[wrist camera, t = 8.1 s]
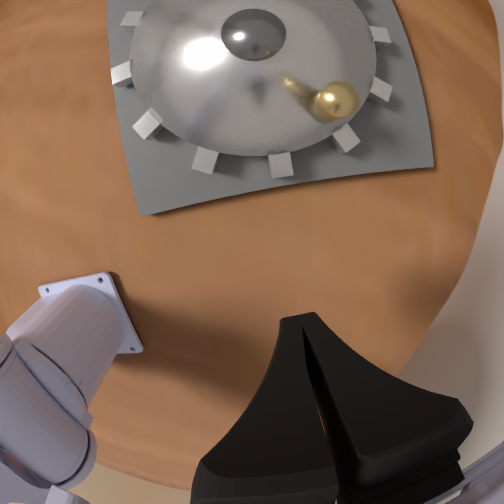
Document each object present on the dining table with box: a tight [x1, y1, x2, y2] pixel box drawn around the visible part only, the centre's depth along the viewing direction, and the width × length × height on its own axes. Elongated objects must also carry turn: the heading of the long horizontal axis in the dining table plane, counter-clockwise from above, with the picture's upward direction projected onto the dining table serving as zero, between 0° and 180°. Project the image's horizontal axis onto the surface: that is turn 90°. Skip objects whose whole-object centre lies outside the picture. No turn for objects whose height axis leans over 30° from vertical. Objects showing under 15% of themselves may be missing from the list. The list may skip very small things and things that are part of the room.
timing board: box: [107, 0, 434, 217], centre depth 13 cm, size 21×21×1 cm
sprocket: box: [111, 0, 393, 179], centre depth 11 cm, size 18×18×4 cm
